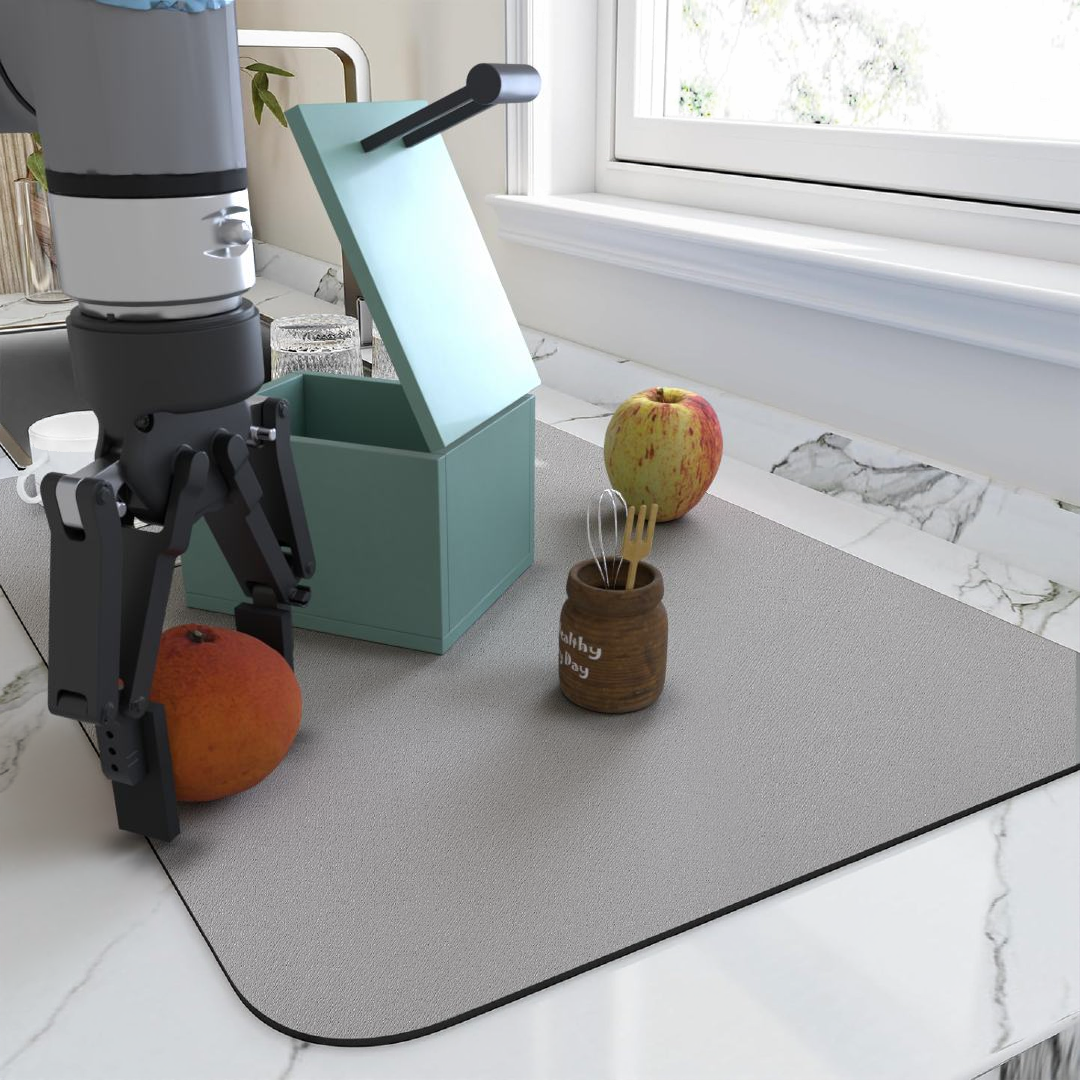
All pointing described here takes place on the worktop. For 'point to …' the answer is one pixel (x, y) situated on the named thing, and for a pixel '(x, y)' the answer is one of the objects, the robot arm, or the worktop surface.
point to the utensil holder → (615, 625)
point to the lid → (423, 246)
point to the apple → (663, 451)
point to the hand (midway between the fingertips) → (215, 772)
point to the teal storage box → (392, 515)
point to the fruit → (223, 709)
